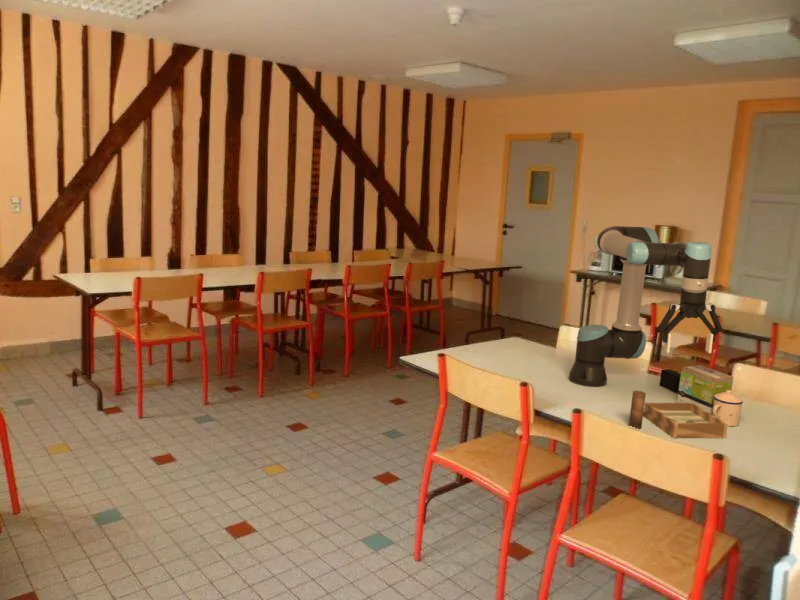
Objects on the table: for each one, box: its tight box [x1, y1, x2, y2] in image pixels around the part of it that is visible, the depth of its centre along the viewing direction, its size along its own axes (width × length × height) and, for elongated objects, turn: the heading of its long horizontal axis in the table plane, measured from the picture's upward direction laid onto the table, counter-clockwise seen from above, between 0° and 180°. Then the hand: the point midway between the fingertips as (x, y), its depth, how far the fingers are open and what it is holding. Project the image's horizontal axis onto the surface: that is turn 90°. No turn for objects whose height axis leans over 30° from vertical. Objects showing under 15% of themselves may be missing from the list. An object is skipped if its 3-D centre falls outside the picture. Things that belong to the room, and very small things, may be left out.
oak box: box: [643, 402, 728, 439], centre depth 211 cm, size 20×18×5 cm
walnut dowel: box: [628, 390, 647, 430], centre depth 209 cm, size 4×4×12 cm
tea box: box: [676, 364, 734, 415], centre depth 230 cm, size 15×10×15 cm
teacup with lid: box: [712, 389, 744, 427], centre depth 217 cm, size 12×9×12 cm
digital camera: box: [659, 368, 681, 395], centre depth 254 cm, size 10×5×7 cm, turn 18°
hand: (687, 351), depth 208 cm, fingers open, 13 cm apart
